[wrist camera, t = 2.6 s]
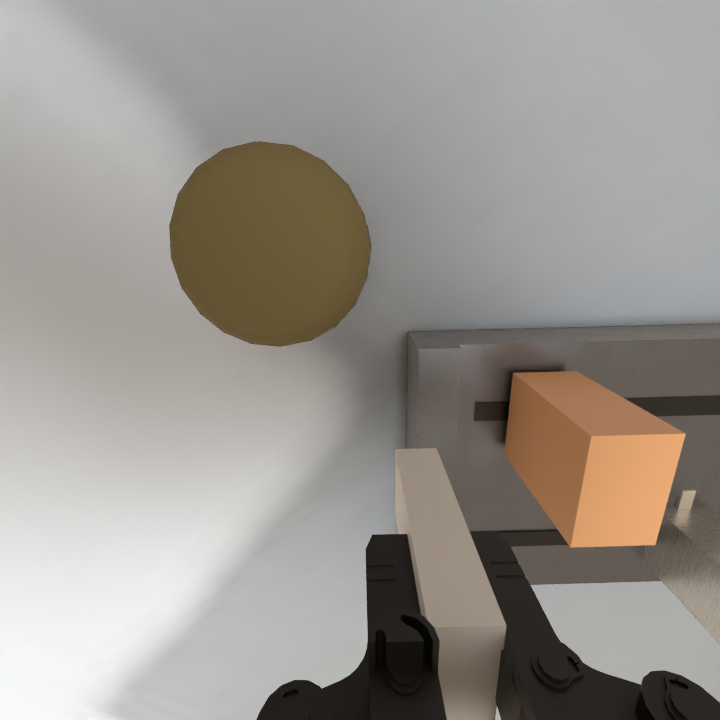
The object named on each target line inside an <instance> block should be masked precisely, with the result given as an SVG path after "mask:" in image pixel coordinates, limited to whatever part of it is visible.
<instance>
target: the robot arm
mask: <svg viewBox="0 0 720 720" xmlns="http://www.w3.org/2000/svg"><path fill="white" fill-rule="evenodd" d="M395 515H396V522H397V529H398V534H386V535H372V537H371V539H370V541H369V543H368V546H367V548H366V580H367V621H368V644H367V650H366V653H365V656H364V659H363V660H362V662H361V663H360V665H359V667H358V668H357V669H356V670H355V671H354V672H353V673H352V674H351V675H349V676H348V677H346V678H344V679H343V680H341V681H339V682H336V683H334V684H332V685H329V686H327V687H324V688H322V689H321V687H320V686H318V685H316V684H314V683H312V682H310V681H308V680H294V681H291V682H289V683H286V684H284V685H282V686H280V687H279V688H278V689H277V690H276V691H275V692H274V693H273V694H271V695H270V696H269V697H268V699H267V701H266V703H265V704H264V706H263V708H262V709H261V711H260V713H259V715H258V718H257V720H495V715H496V707H498V710H499V713H500V716H501V720H720V703H719V702H718V701H717V700H716V699H715V698H714V697H712V696H711V695H710V694H709V693H708V692H706V691H705V690H704V689H703V688H702V687H700V686H699V685H697V684H695V683H694V682H692V681H690V680H688V679H687V678H685V677H683V676H681V675H678V674H674V673H671V672H668V671H651V672H650V673H649V674H648V675H646V676H645V677H644V678H643V680H642V684H641V685H640V684H637V683H634V682H630V681H627V680H624V679H621V678H617V677H614V676H611V675H608V674H605V673H602V672H600V671H597V670H595V669H592V668H591V667H589V666H587V665H586V664H584V663H583V662H582V661H581V659H580V658H579V657H578V655H577V654H575V653H574V652H573V651H572V650H571V649H570V648H568V647H567V646H566V645H565V644H563V643H561V642H560V640H559V639H558V637H557V636H556V634H555V632H554V630H553V628H552V627H551V625H550V623H549V621H548V619H547V617H546V615H545V613H544V611H543V609H542V607H541V605H540V603H539V601H538V599H537V597H536V595H535V593H534V591H533V589H532V588H531V586H530V584H529V582H528V580H527V579H526V578H525V574H524V572H523V570H522V568H521V566H520V564H518V560H517V558H516V556H515V554H514V552H513V550H512V548H511V547H510V545H509V544H508V543H507V542H506V541H505V540H504V539H503V538H502V537H501V536H500V535H499V534H498V533H497V532H496V531H469V529H468V527H467V524H466V522H465V519H464V517H463V514H462V512H461V509H460V506H459V504H458V501H457V499H456V496H455V494H454V491H453V489H452V486H451V484H450V481H449V479H448V476H447V473H446V471H445V468H444V466H443V463H442V461H441V458H440V456H439V453H438V451H437V448H420V449H395Z"/></svg>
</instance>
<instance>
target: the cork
mask: <svg viewBox="0 0 720 720" xmlns="http://www.w3.org/2000/svg"><path fill="white" fill-rule="evenodd" d="M169 226H170V248H171V259H172V262H173V265H174V268H175V270H176V273H177V276H178V279H179V282H180V284H181V287H182V289H183V290H184V292H185V293H186V295H187V296H188V297H189V299H190V300H191V301H192V303H193V304H194V306H195V307H196V308H197V310H198V311H199V313H200V314H201V315H203V316H204V317H205V318H206V319H208V320H209V321H210V322H211V323H213V324H214V325H215V326H217V327H218V328H219V329H220V330H222V331H223V332H224V333H227V334H229V335H231V336H234V337H236V338H239V339H241V340H244V341H246V342H248V343H251V344H260V345H270V346H286V345H291V344H295V343H300V342H305V341H310V340H313V339H314V338H316V337H318V336H320V335H321V334H323V333H325V332H327V331H328V330H330V329H332V328H333V327H335V326H336V325H337V324H338V323H339V322H340V321H341V320H342V319H343V318H344V317H345V315H346V314H347V313H348V312H349V311H350V310H351V309H352V308H353V306H354V305H355V304H356V301H357V299H358V297H359V295H360V292H361V290H362V288H363V286H364V283H365V281H366V279H367V273H368V266H369V260H370V251H371V242H370V237H369V232H368V227H367V225H366V222H365V216H364V213H363V211H362V210H361V208H360V206H359V204H358V202H357V200H356V198H355V196H354V195H353V193H352V191H351V189H350V187H349V185H348V184H347V183H346V182H345V181H344V180H343V179H342V178H341V177H340V176H339V175H338V174H337V173H336V172H335V171H334V170H333V169H332V168H331V167H330V166H329V165H328V164H327V163H326V162H325V161H323V160H321V159H319V158H317V157H315V156H313V155H311V154H309V153H307V152H305V151H303V150H301V149H299V148H297V147H295V146H292V145H284V144H276V143H267V142H251V143H247V144H243V145H239V146H235V147H231V148H226V149H223V150H221V151H220V152H218V153H217V154H215V155H214V156H213V157H211V158H210V159H208V160H207V161H205V162H204V163H202V164H201V165H200V166H198V167H197V168H196V169H195V170H194V172H193V173H192V175H191V176H190V178H189V179H188V180H187V182H186V183H185V185H184V186H183V188H182V189H181V191H180V192H179V193H178V196H177V200H176V203H175V207H174V211H173V214H172V218H171V221H170V225H169Z"/></svg>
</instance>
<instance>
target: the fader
mask: <svg viewBox="0 0 720 720" xmlns="http://www.w3.org/2000/svg"><path fill="white" fill-rule="evenodd" d="M685 435H686V433H684V432H682V431H680V430H679V429H677V428H675V427H673V426H672V425H670V424H668V423H666V422H665V421H663V420H661V419H659V418H658V417H656V416H654V415H652V414H651V413H649V412H647V411H645V410H644V409H642V408H640V407H638V406H637V405H635V404H633V403H631V402H630V401H628V400H626V399H624V398H623V397H621V396H619V395H617V394H616V393H614V392H612V391H610V390H609V389H607V388H605V387H603V386H602V385H600V384H598V383H596V382H594V381H593V380H591V379H589V378H587V377H586V376H584V375H582V374H580V373H579V372H577V371H563V372H525V373H513V378H512V387H511V396H510V405H509V415H508V424H507V433H506V442H505V451H504V455H505V456H506V458H507V459H508V460H509V462H510V463H511V465H512V466H513V467H514V469H515V470H516V472H517V473H518V475H519V476H520V477H521V479H522V480H523V482H524V483H525V484H526V486H527V487H528V489H529V490H530V491H531V493H532V494H533V496H534V497H535V498H536V500H537V501H538V503H539V504H540V505H541V507H542V508H543V510H544V511H545V512H546V514H547V515H548V517H549V518H550V519H551V521H552V522H553V524H554V525H555V526H556V528H557V529H558V531H559V532H560V533H561V535H562V536H563V538H564V539H565V541H566V542H567V543H568V545H569V546H570V548H572V547H607V546H642V545H656V541H657V537H658V534H659V530H660V526H661V523H662V519H663V515H664V512H665V508H666V504H667V501H668V497H669V493H670V490H671V486H672V483H673V479H674V475H675V472H676V468H677V464H678V461H679V457H680V453H681V450H682V446H683V442H684V439H685Z"/></svg>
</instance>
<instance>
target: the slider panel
mask: <svg viewBox="0 0 720 720" xmlns="http://www.w3.org/2000/svg"><path fill="white" fill-rule="evenodd" d="M563 371H577V372H579V373H580V374H582V375H584V376H586V377H587V378H589V379H591V380H593V381H594V382H596V383H598V384H600V385H602V386H603V387H605V388H607V389H609V390H610V391H612V392H614V393H616V394H617V395H619V396H621V397H623V398H624V399H626V400H628V401H630V402H631V403H633V404H635V405H637V406H638V407H640V408H642V409H644V410H645V411H647V412H649V413H651V414H652V415H654V416H656V417H658V418H659V419H661V420H663V421H665V422H666V423H668V424H670V425H672V426H673V427H675V428H677V429H679V430H680V431H682V432H684V433H686V435H685V439H684V442H683V446H682V450H681V453H680V457H679V461H678V464H677V468H676V472H675V475H674V479H673V483H672V486H671V490H670V493H669V497H668V501H667V504H666V508H665V512H664V515H663V519H662V523H661V526H660V530H659V534H658V537H657V541H656V545H642V546H607V547H572V548H570V546H569V545H568V543H567V542H566V541H565V539H564V538H563V536H562V535H561V533H560V532H559V531H558V529H557V528H556V526H555V525H554V524H553V522H552V521H551V519H550V518H549V517H548V515H547V514H546V512H545V511H544V510H543V508H542V507H541V505H540V504H539V503H538V501H537V500H536V498H535V497H534V496H533V494H532V493H531V491H530V490H529V489H528V487H527V486H526V484H525V483H524V482H523V480H522V479H521V477H520V476H519V475H518V473H517V472H516V470H515V469H514V467H513V466H512V465H511V463H510V462H509V460H508V459H507V458H506V456H505V455H504V451H505V442H506V433H507V424H508V415H509V405H510V396H511V387H512V378H513V373H525V372H563ZM420 448H437V451H438V453H439V456H440V458H441V461H442V463H443V466H444V468H445V471H446V473H447V476H448V479H449V481H450V484H451V486H452V489H453V491H454V494H455V496H456V499H457V501H458V504H459V506H460V509H461V512H462V514H463V517H464V519H465V522H466V524H467V527H468V529H469V531H496V532H497V533H498V534H499V535H500V536H501V537H502V538H503V539H504V540H505V541H506V542H507V543H508V544H509V545H510V547H511V548H512V550H513V552H514V554H515V556H516V558H517V560H518V564H520V566H521V568H522V570H523V572H524V574H525V578H526V579H527V580H528V582H529V584H530V585H539V584H573V583H607V582H641V581H662V582H663V583H664V584H665V585H666V586H667V587H668V588H669V590H670V591H671V592H672V593H673V594H674V595H675V596H676V597H677V598H678V599H679V601H680V602H681V603H682V604H683V605H684V606H685V607H686V608H687V609H688V610H689V611H690V613H691V614H692V615H693V616H694V617H695V618H696V619H697V620H698V621H699V622H700V624H701V625H702V626H703V627H704V628H705V629H706V630H707V631H708V632H709V633H710V635H711V636H712V637H713V638H714V639H715V640H716V641H717V642H718V643H719V644H720V324H686V325H647V326H608V327H569V328H530V329H491V330H451V331H412V332H408V366H407V426H406V449H420Z"/></svg>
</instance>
